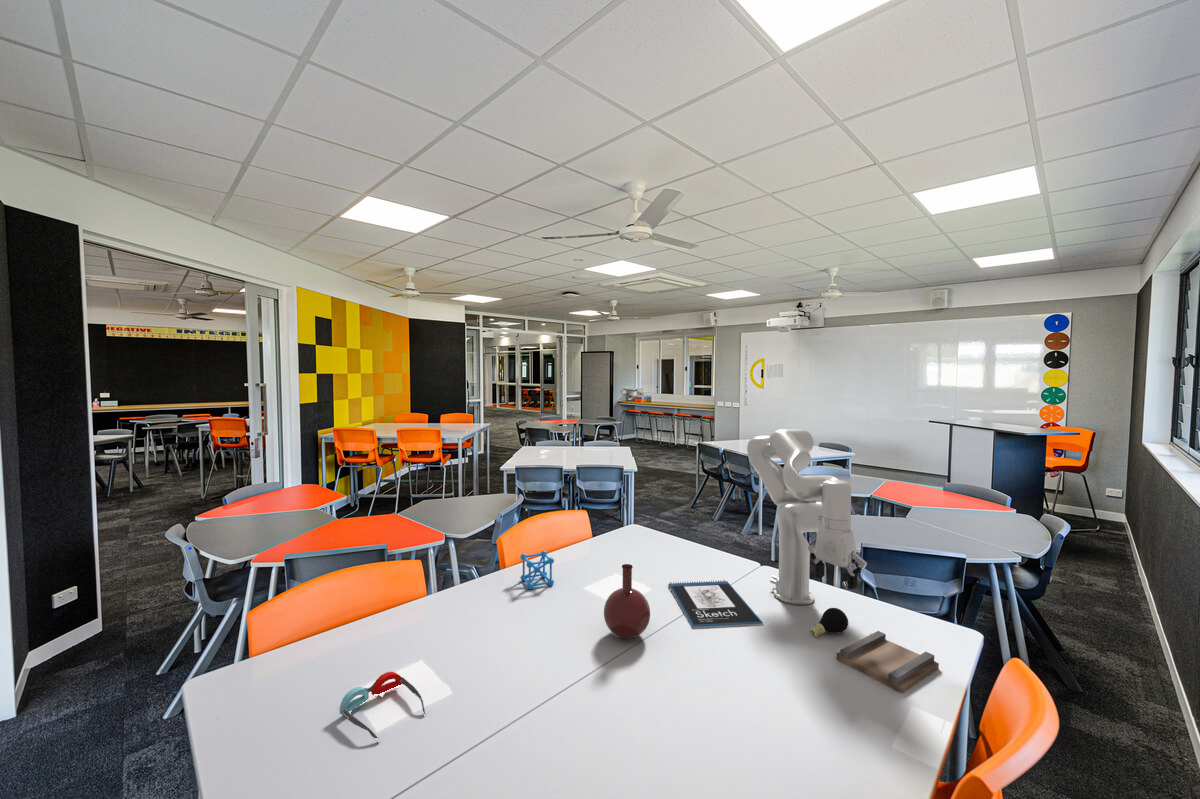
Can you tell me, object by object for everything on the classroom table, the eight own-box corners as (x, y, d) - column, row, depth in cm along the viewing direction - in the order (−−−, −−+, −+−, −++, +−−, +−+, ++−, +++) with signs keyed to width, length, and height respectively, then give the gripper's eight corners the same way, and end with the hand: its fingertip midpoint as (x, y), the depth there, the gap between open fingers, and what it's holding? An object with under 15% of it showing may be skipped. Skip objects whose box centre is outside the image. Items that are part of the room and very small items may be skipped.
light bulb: (811, 619, 135) (843, 602, 139) (799, 622, 140) (830, 606, 144) (825, 643, 132) (857, 626, 136) (812, 646, 137) (843, 629, 141)
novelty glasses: (398, 686, 114) (397, 665, 114) (433, 713, 104) (432, 691, 104) (336, 718, 103) (336, 695, 103) (369, 751, 94) (369, 726, 93)
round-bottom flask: (595, 640, 133) (595, 569, 133) (616, 620, 145) (616, 554, 144) (639, 653, 127) (639, 579, 126) (656, 630, 139) (657, 562, 138)
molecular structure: (519, 580, 174) (519, 553, 174) (545, 575, 178) (545, 549, 178) (527, 591, 165) (527, 562, 165) (555, 586, 169) (554, 558, 169)
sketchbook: (692, 630, 140) (692, 623, 140) (667, 586, 170) (667, 581, 170) (763, 626, 143) (763, 619, 142) (726, 584, 172) (726, 578, 172)
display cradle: (836, 659, 125) (836, 647, 125) (874, 639, 134) (874, 629, 134) (901, 693, 111) (901, 680, 111) (938, 668, 121) (938, 657, 121)
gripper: (801, 518, 143) (801, 575, 144) (858, 533, 129) (857, 596, 129) (816, 515, 147) (816, 570, 148) (873, 528, 133) (873, 590, 133)
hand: (835, 582), depth 138 cm, fingers open, 9 cm apart
